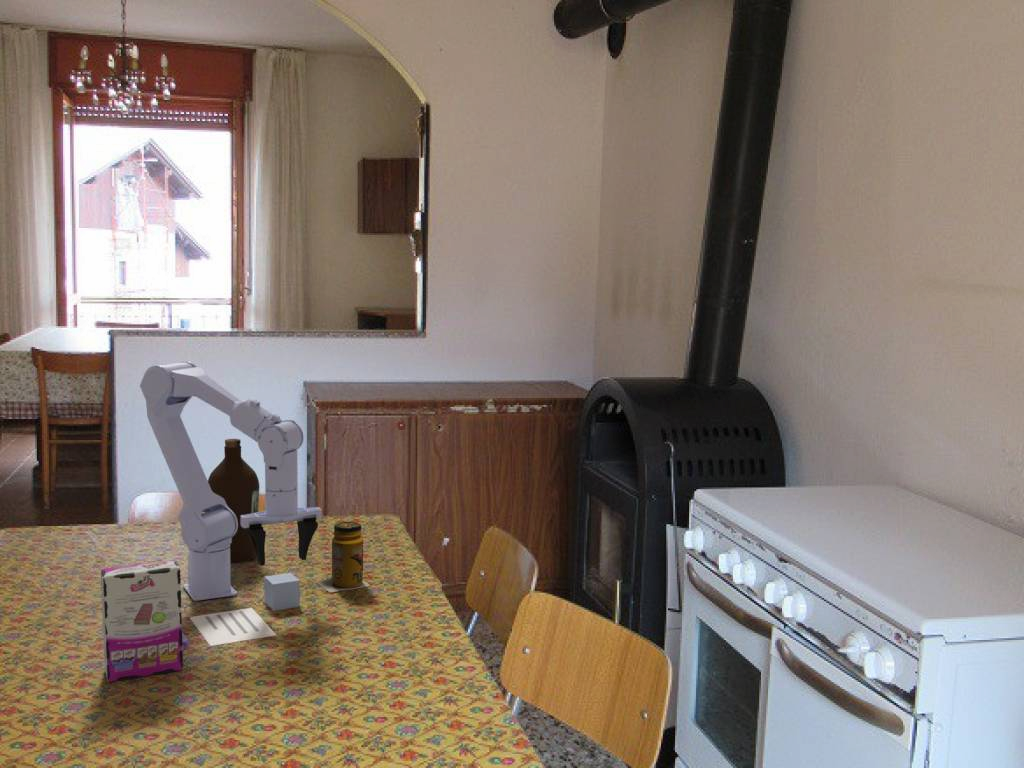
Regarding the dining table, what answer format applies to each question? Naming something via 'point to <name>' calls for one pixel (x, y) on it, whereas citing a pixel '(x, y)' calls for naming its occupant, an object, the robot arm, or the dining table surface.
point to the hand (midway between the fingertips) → (282, 561)
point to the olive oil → (237, 496)
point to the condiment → (346, 558)
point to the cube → (282, 591)
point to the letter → (232, 626)
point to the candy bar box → (142, 620)
